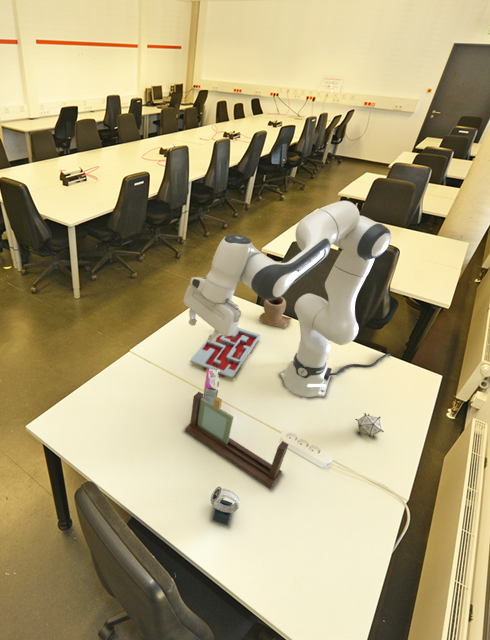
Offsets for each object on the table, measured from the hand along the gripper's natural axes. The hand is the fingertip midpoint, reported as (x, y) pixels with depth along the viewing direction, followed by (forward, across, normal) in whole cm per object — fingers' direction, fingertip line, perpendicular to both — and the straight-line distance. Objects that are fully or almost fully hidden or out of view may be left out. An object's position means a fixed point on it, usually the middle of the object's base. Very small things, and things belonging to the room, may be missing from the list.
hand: (201, 332), depth 117 cm
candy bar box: (+39, +2, -24) cm, 45 cm away
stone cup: (+22, +30, -88) cm, 96 cm away
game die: (+26, -37, -64) cm, 78 cm away
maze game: (+32, +25, -52) cm, 66 cm away
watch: (+44, -33, -1) cm, 55 cm away
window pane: (+38, -9, -15) cm, 42 cm away
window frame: (+40, -17, -18) cm, 47 cm away
